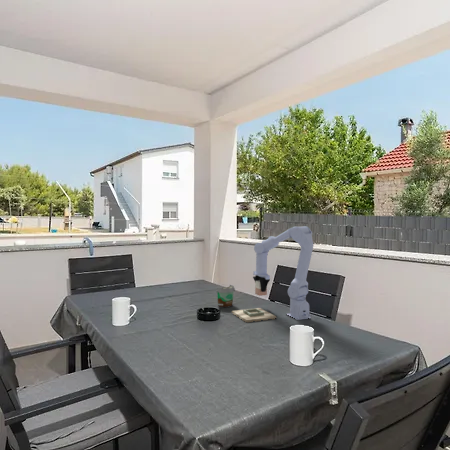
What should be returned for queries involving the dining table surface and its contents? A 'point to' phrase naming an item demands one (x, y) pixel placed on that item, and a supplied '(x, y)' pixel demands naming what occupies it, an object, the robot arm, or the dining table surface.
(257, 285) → the white brown rectangular block
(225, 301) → the food container
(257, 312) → the board
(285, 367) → the dining table surface
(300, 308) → the robot arm
